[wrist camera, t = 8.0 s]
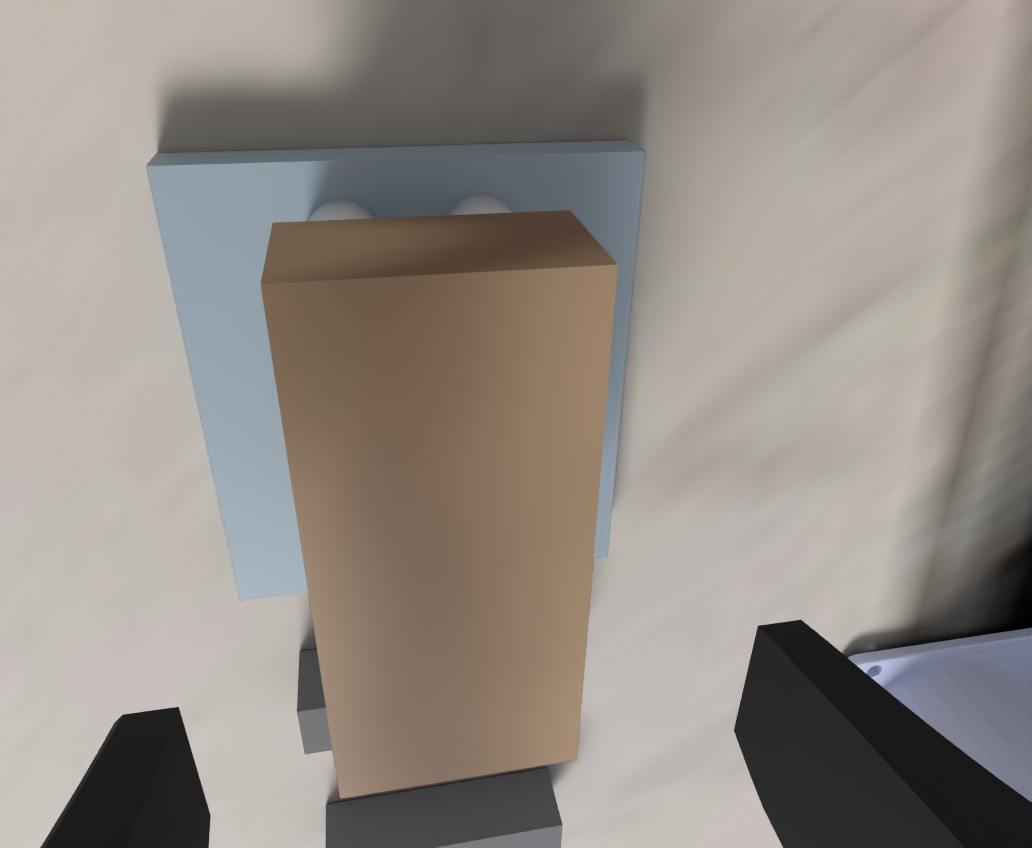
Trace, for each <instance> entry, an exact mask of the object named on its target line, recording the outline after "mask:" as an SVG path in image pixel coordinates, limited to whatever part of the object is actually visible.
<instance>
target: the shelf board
mask: <svg viewBox="0 0 1032 848" xmlns="http://www.w3.org/2000/svg"><path fill="white" fill-rule="evenodd" d="M617 271H618V264H617V263H616V262H615V261H614V259H613V258H612V257H611V256H610V255H609V254H608V253H607V251H606V250H605V249H604V248H603V247H602V246H601V245H600V244H599V242H598V241H597V240H596V239H595V238H594V237H593V236H592V234H591V233H590V232H589V231H588V230H587V229H586V228H585V227H584V225H583V224H582V223H581V222H580V221H579V220H578V219H577V217H576V216H575V215H574V214H573V213H572V212H571V211H570V210H562V211H538V212H514V213H491V214H467V215H443V216H419V217H395V218H371V219H347V220H324V221H300V222H276V223H272V228H271V233H270V238H269V243H268V248H267V253H266V258H265V263H264V268H263V273H262V278H261V283H260V285H261V291H262V298H263V304H264V311H265V317H266V324H267V330H268V337H269V343H270V349H271V356H272V362H273V369H274V375H275V382H276V388H277V395H278V401H279V408H280V414H281V420H282V427H283V433H284V440H285V446H286V453H287V459H288V466H289V472H290V479H291V485H292V491H293V498H294V504H295V511H296V517H297V524H298V530H299V537H300V543H301V549H302V556H303V562H304V569H305V575H306V582H307V588H308V595H309V601H310V608H311V614H312V620H313V627H314V633H315V640H316V646H317V653H318V659H319V666H320V672H321V679H322V685H323V691H324V698H325V704H326V711H327V717H328V724H329V730H330V737H331V743H332V749H333V756H334V762H335V769H336V775H337V782H338V788H339V795H340V799H341V798H348V797H354V796H360V795H366V794H372V793H378V792H384V791H390V790H396V789H402V788H409V787H415V786H421V785H427V784H433V783H439V782H445V781H451V780H457V779H463V778H470V777H476V776H482V775H488V774H494V773H500V772H506V771H512V770H518V769H524V768H530V767H537V766H543V765H549V764H555V763H561V762H567V761H573V760H577V752H578V740H579V728H580V716H581V704H582V692H583V680H584V668H585V656H586V644H587V632H588V620H589V608H590V596H591V583H592V571H593V559H594V547H595V535H596V523H597V511H598V499H599V487H600V475H601V463H602V451H603V439H604V427H605V415H606V403H607V391H608V379H609V367H610V355H611V343H612V331H613V319H614V307H615V295H616V283H617Z"/></svg>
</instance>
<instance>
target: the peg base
mask: <svg viewBox="0 0 1032 848" xmlns="http://www.w3.org/2000/svg"><path fill="white" fill-rule="evenodd" d="M644 160H645V151H644V150H643V149H641V148H640V147H638V146H637V145H635V144H634V143H633V142H631V141H630V140H616V141H579V142H543V143H507V144H470V145H434V146H398V147H361V148H325V149H289V150H252V151H216V152H180V153H156V154H155V156H154V157H153V158H152V159H151V161H150V162H149V163H148V164H147V166H146V169H147V173H148V178H149V183H150V187H151V192H152V197H153V201H154V206H155V211H156V215H157V220H158V224H159V229H160V234H161V238H162V243H163V248H164V252H165V257H166V262H167V266H168V271H169V276H170V280H171V285H172V289H173V294H174V299H175V303H176V308H177V313H178V317H179V322H180V327H181V331H182V336H183V341H184V345H185V350H186V354H187V359H188V364H189V368H190V373H191V378H192V382H193V387H194V392H195V396H196V401H197V406H198V410H199V415H200V419H201V424H202V429H203V433H204V438H205V443H206V447H207V452H208V457H209V461H210V466H211V471H212V475H213V480H214V484H215V489H216V494H217V498H218V503H219V508H220V512H221V517H222V522H223V526H224V531H225V536H226V540H227V545H228V549H229V554H230V559H231V563H232V568H233V573H234V577H235V582H236V587H237V591H238V596H239V601H241V600H249V599H257V598H266V597H274V596H282V595H291V594H299V593H307V592H308V588H307V582H306V575H305V569H304V562H303V556H302V549H301V543H300V537H299V530H298V524H297V517H296V511H295V504H294V498H293V491H292V485H291V479H290V472H289V466H288V459H287V453H286V446H285V440H284V433H283V427H282V420H281V414H280V408H279V401H278V395H277V388H276V382H275V375H274V369H273V362H272V356H271V349H270V343H269V337H268V330H267V324H266V317H265V311H264V304H263V298H262V291H261V285H260V283H261V278H262V273H263V268H264V263H265V258H266V253H267V248H268V243H269V238H270V233H271V228H272V223H276V222H300V221H324V220H347V219H371V218H395V217H419V216H443V215H467V214H491V213H514V212H538V211H562V210H570V211H571V212H572V213H573V214H574V215H575V216H576V217H577V219H578V220H579V221H580V222H581V223H582V224H583V225H584V227H585V228H586V229H587V230H588V231H589V232H590V233H591V234H592V236H593V237H594V238H595V239H596V240H597V241H598V242H599V244H600V245H601V246H602V247H603V248H604V249H605V250H606V251H607V253H608V254H609V255H610V256H611V257H612V258H613V259H614V261H615V262H616V263H617V264H618V271H617V283H616V295H615V307H614V319H613V331H612V343H611V355H610V367H609V379H608V391H607V403H606V415H605V427H604V439H603V451H602V463H601V475H600V487H599V499H598V511H597V523H596V535H595V547H594V558H598V557H607V556H608V545H609V534H610V524H611V513H612V502H613V492H614V481H615V470H616V459H617V449H618V438H619V427H620V417H621V406H622V395H623V385H624V374H625V363H626V353H627V342H628V331H629V320H630V310H631V299H632V288H633V278H634V267H635V256H636V246H637V235H638V224H639V214H640V203H641V192H642V181H643V171H644Z"/></svg>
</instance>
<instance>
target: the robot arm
mask: <svg viewBox="0 0 1032 848" xmlns="http://www.w3.org/2000/svg"><path fill="white" fill-rule="evenodd" d="M734 732H735V734H736V737H737V740H738V743H739V745H740V748H741V751H742V754H743V756H744V759H745V762H746V765H747V767H748V770H749V773H750V775H751V778H752V781H753V783H754V786H755V788H756V791H757V793H758V796H759V798H760V801H761V803H762V806H763V808H764V810H765V812H766V814H767V816H768V818H769V820H770V822H771V824H772V826H773V828H774V830H775V832H776V834H777V836H778V838H779V840H780V842H781V844H782V846H783V848H1032V628H1027V629H1020V630H1014V631H1007V632H1000V633H994V634H987V635H980V636H974V637H967V638H960V639H954V640H947V641H940V642H934V643H927V644H920V645H914V646H907V647H901V648H894V649H887V650H881V651H874V652H867V653H861V654H855V655H852V656H850V657H848V658H847V657H846V656H845V655H843V654H842V653H841V652H840V651H839V650H837V649H836V648H835V647H834V646H833V645H831V644H830V643H829V642H828V641H827V640H825V639H824V638H823V637H822V636H820V635H819V634H818V633H817V632H816V631H814V630H813V629H812V628H811V627H809V626H808V625H807V624H806V623H804V622H803V621H802V620H796V621H789V622H782V623H775V624H768V625H761V626H758V628H757V632H756V637H755V641H754V645H753V650H752V654H751V659H750V663H749V667H748V672H747V676H746V680H745V685H744V689H743V693H742V698H741V702H740V706H739V711H738V715H737V720H736V724H735V728H734ZM209 831H210V812H209V809H208V806H207V802H206V799H205V795H204V792H203V789H202V785H201V782H200V778H199V775H198V772H197V768H196V765H195V761H194V758H193V755H192V751H191V748H190V744H189V741H188V737H187V734H186V731H185V727H184V724H183V720H182V717H181V714H180V710H179V707H175V708H168V709H160V710H153V711H146V712H139V713H132V714H125V715H122V716H121V717H120V718H119V719H118V720H117V721H116V722H115V723H114V725H113V727H112V728H111V730H110V732H109V734H108V735H107V737H106V739H105V741H104V742H103V744H102V746H101V748H100V749H99V751H98V753H97V755H96V756H95V758H94V760H93V762H92V763H91V765H90V767H89V768H88V770H87V772H86V774H85V775H84V777H83V779H82V780H81V782H80V784H79V785H78V787H77V789H76V791H75V792H74V794H73V796H72V797H71V799H70V801H69V802H68V804H67V805H66V807H65V809H64V810H63V812H62V814H61V815H60V817H59V818H58V820H57V822H56V823H55V825H54V827H53V828H52V830H51V831H50V833H49V835H48V836H47V838H46V840H45V841H44V843H43V844H42V846H41V847H40V848H208V847H209Z"/></svg>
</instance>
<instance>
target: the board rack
mask: <svg viewBox="0 0 1032 848" xmlns="http://www.w3.org/2000/svg"><path fill="white" fill-rule="evenodd" d="M297 714H298V719H299V725H300V730H301V736H302V741H303V747H304V752H305V754H310V753H316V752H323V751H329V750H333V749H332V743H331V737H330V730H329V724H328V717H327V711H326V704H325V698H324V691H323V685H322V679H321V672H320V666H319V659H318V653H317V649H314V650H306V651H300V655H299V679H298V703H297ZM561 837H562V822H561V818H560V814H559V810H558V806H557V803H556V799H555V795H554V791H553V787H552V783H551V780H550V776H549V772H548V768H544V769H538V770H532V771H526V772H520V773H514V774H507V775H501V776H495V777H489V778H483V779H477V780H471V781H465V782H459V783H453V784H447V785H441V786H435V787H429V788H423V789H417V790H411V791H405V792H398V793H392V794H386V795H380V796H374V797H368V798H362V799H356V800H350V801H344V802H338V803H332V804H326V848H561Z"/></svg>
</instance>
